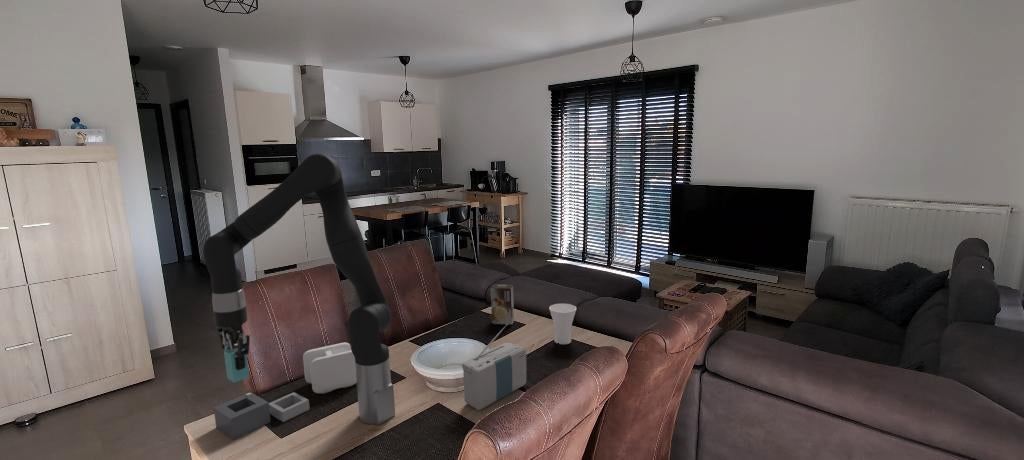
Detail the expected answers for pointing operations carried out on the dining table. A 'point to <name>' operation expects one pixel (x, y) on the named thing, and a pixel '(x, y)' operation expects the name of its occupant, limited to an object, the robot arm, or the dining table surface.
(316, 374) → the cable organizer
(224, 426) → the port
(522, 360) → the stereo radio cassette player
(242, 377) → the plug
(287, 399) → the grey square hollow frame
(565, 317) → the cup
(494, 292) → the coffee box
